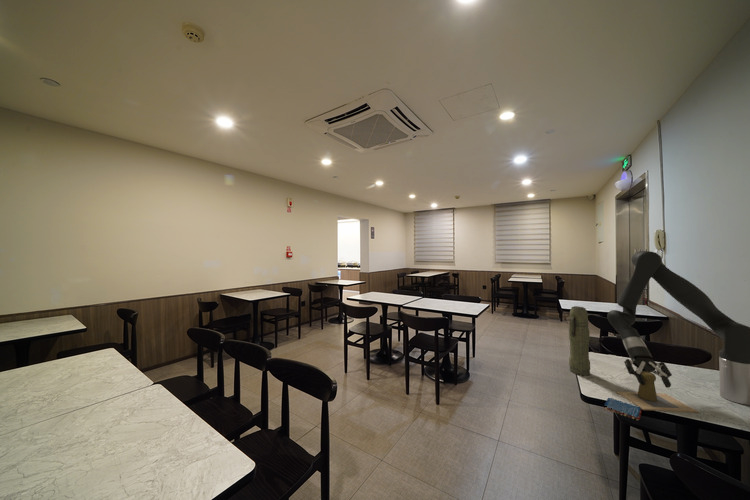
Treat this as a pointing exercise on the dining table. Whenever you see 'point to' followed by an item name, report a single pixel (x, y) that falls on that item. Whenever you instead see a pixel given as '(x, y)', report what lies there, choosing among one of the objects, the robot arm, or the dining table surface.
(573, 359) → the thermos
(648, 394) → the cork
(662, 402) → the tan flat board
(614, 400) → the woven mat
